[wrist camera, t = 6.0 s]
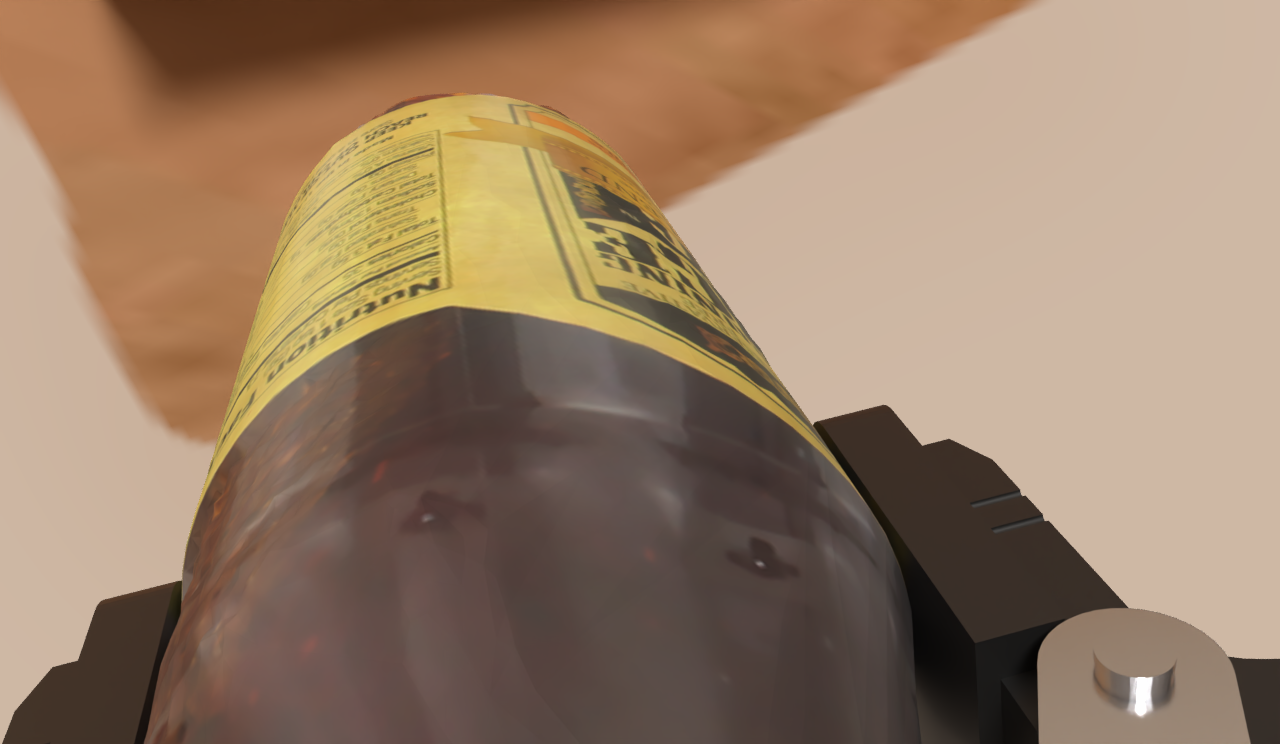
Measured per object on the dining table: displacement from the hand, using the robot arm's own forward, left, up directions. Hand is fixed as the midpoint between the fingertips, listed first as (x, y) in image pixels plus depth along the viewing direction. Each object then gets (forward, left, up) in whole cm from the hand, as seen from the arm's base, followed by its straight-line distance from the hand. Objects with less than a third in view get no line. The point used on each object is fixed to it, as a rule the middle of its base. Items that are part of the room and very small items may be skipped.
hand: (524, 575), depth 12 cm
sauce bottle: (0, 0, -10) cm, 10 cm away
